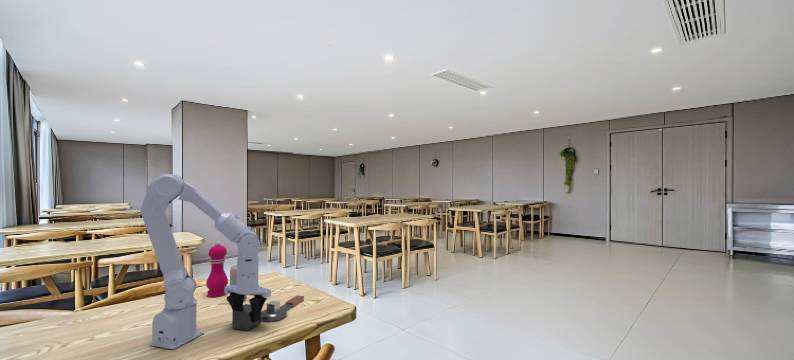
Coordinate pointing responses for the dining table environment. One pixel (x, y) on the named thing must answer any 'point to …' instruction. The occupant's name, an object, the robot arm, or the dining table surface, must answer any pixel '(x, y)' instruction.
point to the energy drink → (234, 277)
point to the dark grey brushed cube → (244, 318)
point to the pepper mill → (217, 271)
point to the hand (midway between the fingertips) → (247, 319)
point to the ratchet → (279, 309)
